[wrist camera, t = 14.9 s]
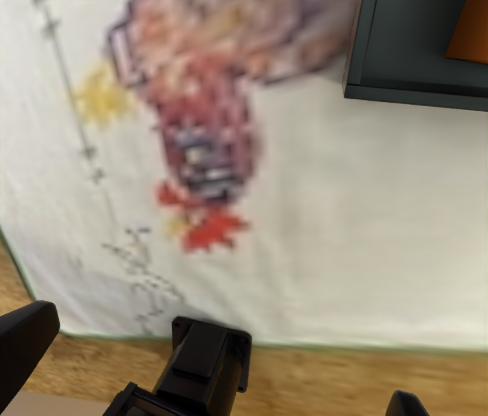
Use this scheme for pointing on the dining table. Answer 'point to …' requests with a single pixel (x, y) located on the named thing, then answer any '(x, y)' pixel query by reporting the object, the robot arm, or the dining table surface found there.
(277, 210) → the dining table surface
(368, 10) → the black square tray
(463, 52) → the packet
